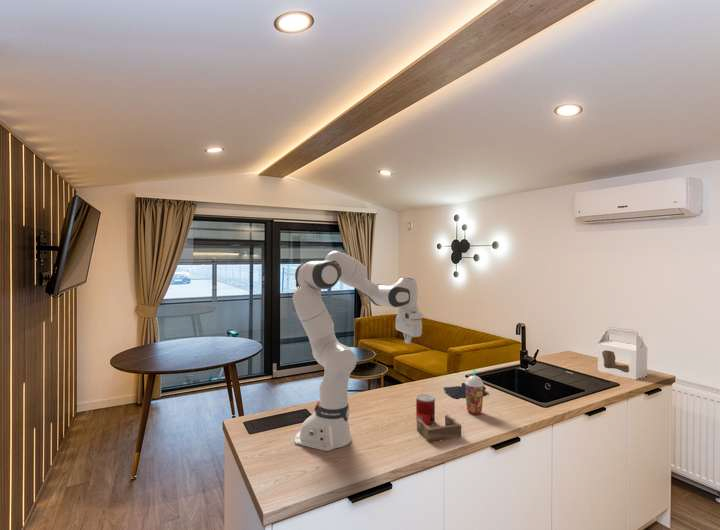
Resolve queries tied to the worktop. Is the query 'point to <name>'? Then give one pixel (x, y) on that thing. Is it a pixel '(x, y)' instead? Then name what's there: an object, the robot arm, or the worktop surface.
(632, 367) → the gable box
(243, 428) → the worktop surface
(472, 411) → the smoothie
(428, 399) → the canned food
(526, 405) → the worktop surface
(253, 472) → the worktop surface
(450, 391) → the dark slate chunk
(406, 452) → the worktop surface
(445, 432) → the holder
